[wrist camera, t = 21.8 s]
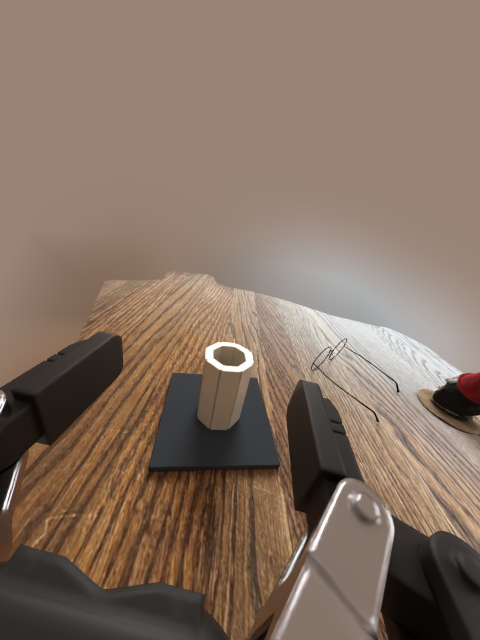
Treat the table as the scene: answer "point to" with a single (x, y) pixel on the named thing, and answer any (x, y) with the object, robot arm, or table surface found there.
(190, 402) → the mat
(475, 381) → the figurine
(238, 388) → the cream octagonal tube
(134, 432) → the table surface
